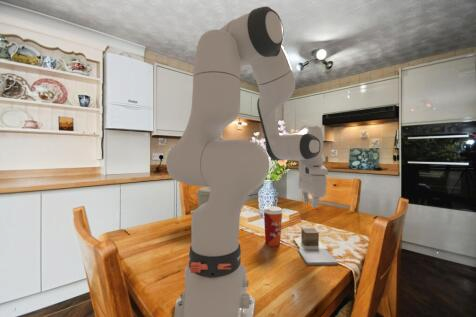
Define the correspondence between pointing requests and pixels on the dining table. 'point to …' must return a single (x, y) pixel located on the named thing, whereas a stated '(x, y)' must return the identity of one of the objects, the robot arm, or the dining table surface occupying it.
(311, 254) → the pad
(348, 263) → the dining table surface
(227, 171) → the robot arm
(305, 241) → the walnut cube
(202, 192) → the canister
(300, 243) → the pad
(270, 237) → the paper cup
